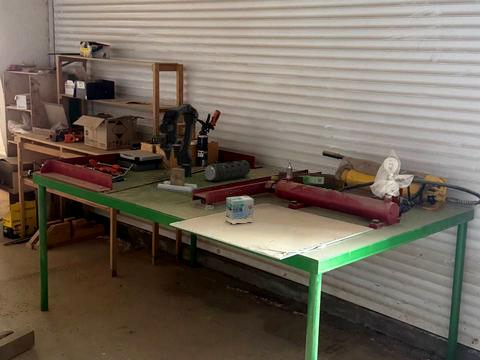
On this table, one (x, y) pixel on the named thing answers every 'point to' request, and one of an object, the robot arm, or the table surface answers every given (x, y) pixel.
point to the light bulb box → (239, 207)
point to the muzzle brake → (227, 170)
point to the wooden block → (177, 177)
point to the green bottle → (316, 180)
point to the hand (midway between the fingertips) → (171, 159)
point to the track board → (177, 187)
